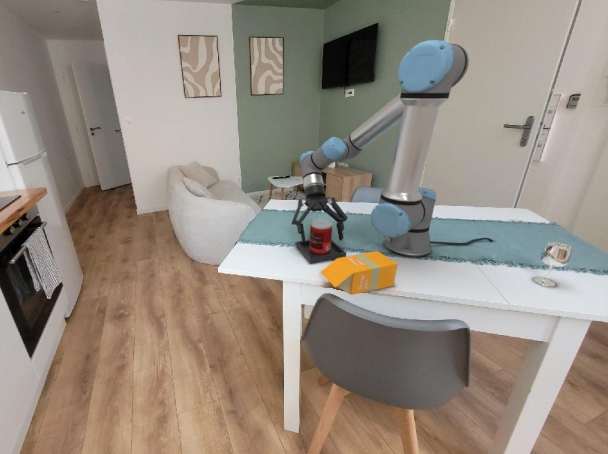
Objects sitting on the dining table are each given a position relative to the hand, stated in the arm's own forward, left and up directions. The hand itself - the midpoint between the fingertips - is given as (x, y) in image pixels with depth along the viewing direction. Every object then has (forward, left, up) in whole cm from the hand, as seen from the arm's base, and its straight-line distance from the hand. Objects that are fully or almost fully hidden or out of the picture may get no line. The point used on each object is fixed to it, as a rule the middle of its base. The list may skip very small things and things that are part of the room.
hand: (322, 240), depth 104 cm
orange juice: (-12, +19, -2) cm, 23 cm away
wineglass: (-54, +34, -6) cm, 64 cm away
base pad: (0, -2, -6) cm, 7 cm away
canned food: (0, -3, -5) cm, 6 cm away
